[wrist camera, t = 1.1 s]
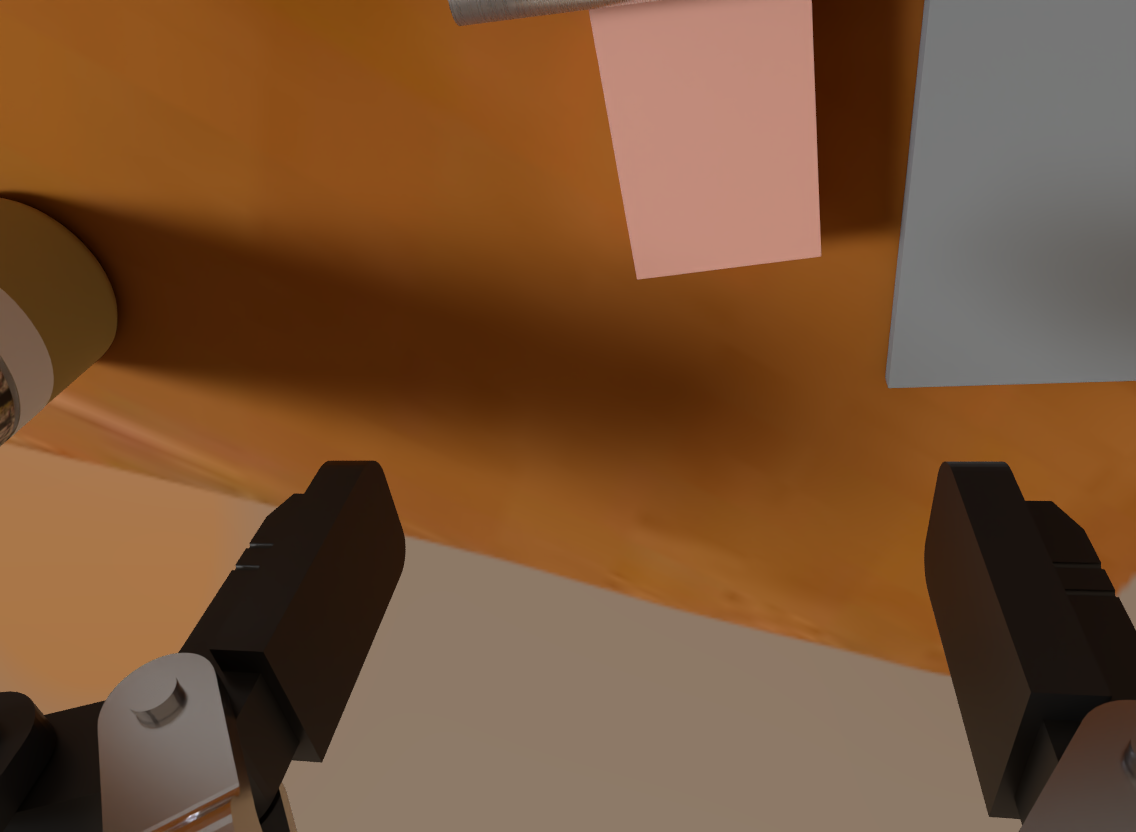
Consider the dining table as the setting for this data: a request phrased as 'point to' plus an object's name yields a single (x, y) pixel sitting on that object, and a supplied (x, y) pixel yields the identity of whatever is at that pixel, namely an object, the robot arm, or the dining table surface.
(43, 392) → the bark print canister
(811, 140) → the pink block
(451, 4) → the dispenser
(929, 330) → the mat
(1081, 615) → the robot arm
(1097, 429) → the dining table surface
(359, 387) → the dining table surface
